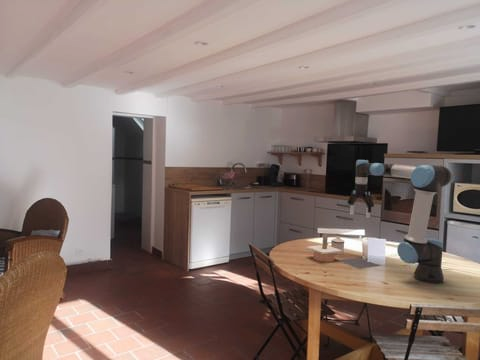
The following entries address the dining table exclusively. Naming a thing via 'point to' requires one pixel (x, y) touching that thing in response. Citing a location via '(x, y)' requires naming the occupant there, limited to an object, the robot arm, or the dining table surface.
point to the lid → (324, 247)
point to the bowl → (324, 257)
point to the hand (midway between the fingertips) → (359, 216)
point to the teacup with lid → (337, 244)
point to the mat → (359, 263)
